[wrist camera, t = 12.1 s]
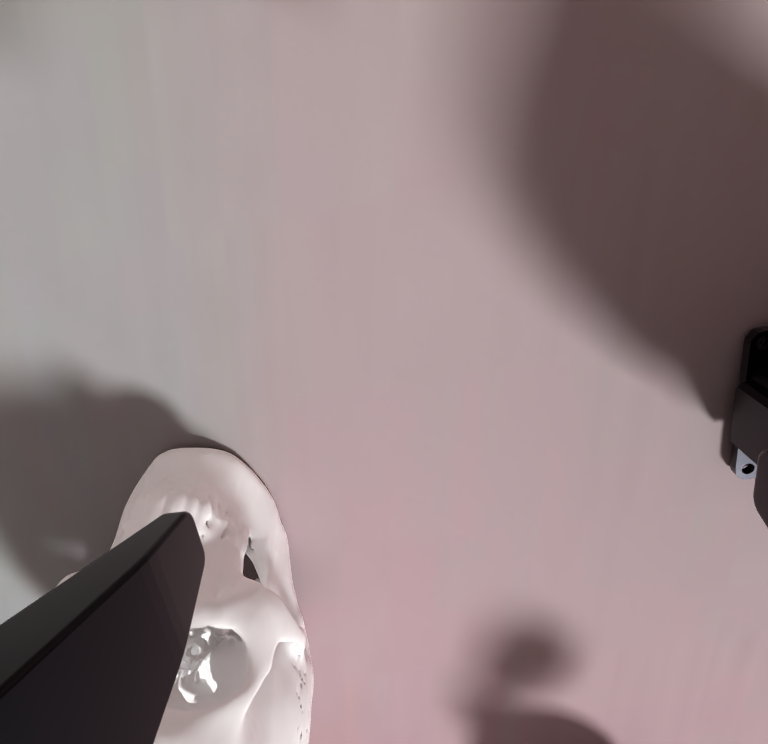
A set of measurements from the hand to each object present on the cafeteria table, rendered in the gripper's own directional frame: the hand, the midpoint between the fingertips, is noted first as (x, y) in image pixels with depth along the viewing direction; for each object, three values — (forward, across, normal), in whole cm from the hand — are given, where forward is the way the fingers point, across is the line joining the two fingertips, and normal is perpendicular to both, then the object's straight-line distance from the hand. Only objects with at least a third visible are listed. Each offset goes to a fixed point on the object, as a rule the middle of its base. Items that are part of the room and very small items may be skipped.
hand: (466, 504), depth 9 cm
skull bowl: (+13, +12, +13) cm, 22 cm away
